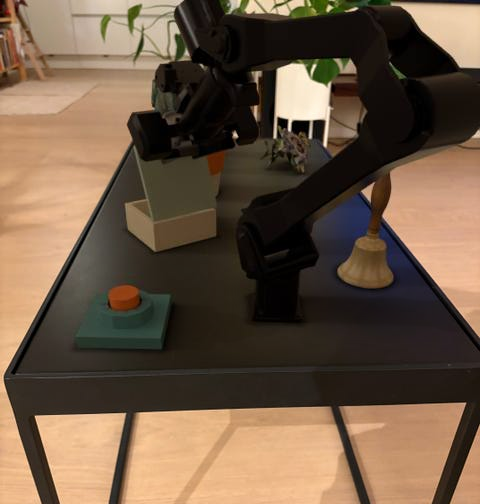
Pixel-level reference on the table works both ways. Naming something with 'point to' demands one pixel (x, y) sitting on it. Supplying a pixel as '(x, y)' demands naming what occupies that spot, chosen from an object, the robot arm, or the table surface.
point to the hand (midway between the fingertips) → (177, 159)
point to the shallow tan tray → (169, 226)
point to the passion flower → (289, 149)
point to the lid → (177, 184)
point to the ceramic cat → (161, 100)
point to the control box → (125, 323)
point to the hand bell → (370, 246)
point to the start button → (124, 298)
